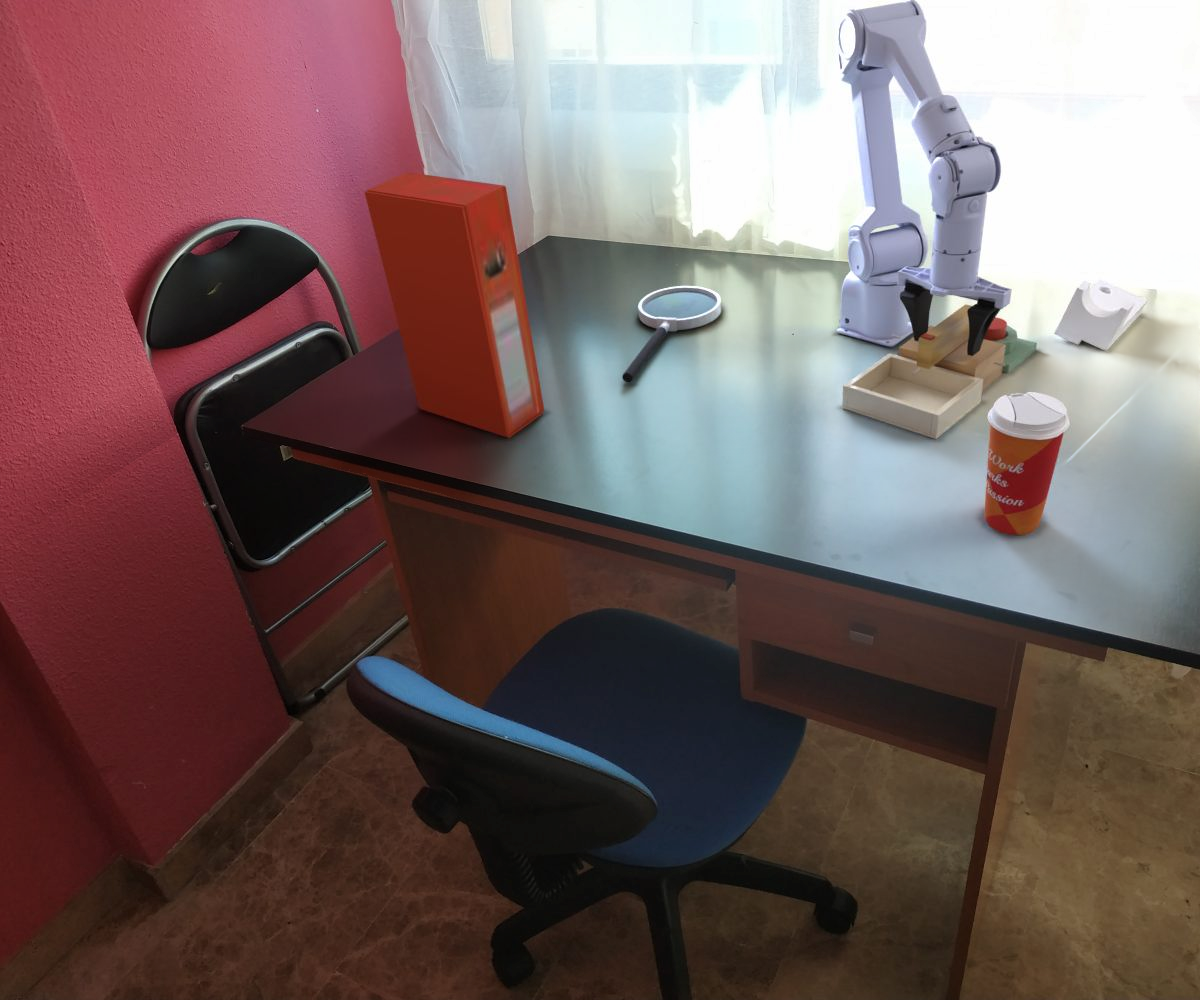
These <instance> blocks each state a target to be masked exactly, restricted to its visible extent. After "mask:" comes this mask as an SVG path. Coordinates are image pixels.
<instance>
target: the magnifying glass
mask: <svg viewBox="0 0 1200 1000" xmlns="http://www.w3.org/2000/svg"><path fill="white" fill-rule="evenodd" d="M637 308H638V309H637V310H638V318H639V320H640V321H641V322H642V324H645V325H646V326H648V327H651V328H653V329H656V330H655V331H654V333H653V334H652V335H651V336H650V338H649V339H648V341H647V342H646V343H645V345H644V346H643V347H642V348H641V350H640V351H639V353H638V354H637V355H636V357H635V358H634V360H633V361H632V362H631V364H630V365H629V366H628V367H627V369H626V370H625V371H624V372H623V374H622V380H623V382H625V383H626V384H627V383H628V384H629V383H632V382H633V380H634V379H635V378H636V376H637V375H638V373H640V371H641V370H642V368H643V367H644V365H646V363H647V362H648V360H649V358H650V357H651V356H652V354H654V351H655V350H656V349H657V348H658V346H659V345H660V344H661V342H662V340H663V339H664V338H665V337H666V335H667V333H668V332H677V331H682V330H691V329H695V328H698V327H702V326H705V325H707V324H709V323H711V322H714V321H715V320H716V319H718V317H719V316H720V315H721V313H722V299H721V296H720V294H719V293H717V292H716V291H714V290H712V289H710V288H706V287H704V286H703V287H702V286H696V285H680V286H679V285H678V286H670V287H665V288H661V289H658V290H654V291H652V292H650V293H648V294H646V295H645V296H643V297H642V298H641V299H640V301H639V302H638V306H637Z"/></svg>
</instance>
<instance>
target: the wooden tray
mask: <svg viewBox="0 0 1200 1000" xmlns="http://www.w3.org/2000/svg"><path fill="white" fill-rule="evenodd" d="M917 369H921V370H920V371H919V372H918V373H917V374H915V375H914V374H912V373H913V372H915V371H916V370H917ZM982 386H983V379H980V378H976V377H973V376H969V375H966V374H962V373H959V372H955V371H951V370H948V369H944V368H941V367H937V366H933V367H931V368H930V369H926V368H922V367H919V366H917V361H916V360H912V359H909V358H905V357H902V356H899V354H898V355H897V354H894V353H891V352H889V353H887V354H886V355H884V356H883V357H881V358H880V359H879V360H877V361H875V362H874V363H873V364H871V365H870V366H869V367H867V368H866V369H864V370H863V371H862V372H860V373H858V374H857V375H856V376H854V377H853V378H852V379H850V380H848V381H847V382H846V383H844V384H843V385H842V402H841V403H842V405H841V408H842V409H844V410H846V411H850V412H853V413H855V414H859V415H862V416H865V417H867V418H872V419H874V420H877V421H880V422H883V423H886V424H889V425H892V426H895V427H898V428H901V429H905V430H908V431H911V432H913V433H915V434H920V435H922V436H926V437H929V438H931V439H935V440H937V439H938V438H940V437H941V436H942V435H943V434H944V433H946V432H947V431H949V429H950V428H952V427H953V426H954V425H955V424H956V423H957V422H959V421H960V420H961V419H963V418H964V417H965V416H966V415H967V414H968V413H970V412H971V411H972V410H973V409H974V408H975V407H977V406H978V405H979V404H981V400H982V394H983V390H982Z"/></svg>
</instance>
